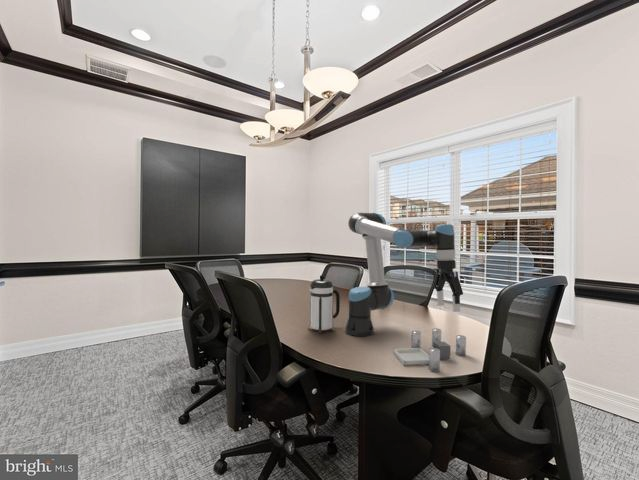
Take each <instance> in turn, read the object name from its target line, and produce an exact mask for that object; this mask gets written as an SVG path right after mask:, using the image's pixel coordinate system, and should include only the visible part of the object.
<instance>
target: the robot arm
mask: <svg viewBox="0 0 639 480" xmlns="http://www.w3.org/2000/svg"><path fill="white" fill-rule="evenodd" d="M348 228H349V230H350V231H351V232H352V233H355V234H359V235H361V236H362V239H364V241H365V248H366V249H365V250H366V259H367V269H368V279H369V283H368V284H367V285H366V286H356V287H353V288H351V289H350V290H349V293H348V318H347V321H346V323H345V330H344V331H345V333H346V334H348V335H350V336H353V337H354V336H356V337H369V336H372V335H373V334H374V332H375V330H374V329H375V328H374V325H373V321H372V318H371V317H372V315H371V314H372V312H373V311H377V310H384V309H387V308H389V307H391V305H392V304H393V302H394V299H395V295H394V291H393V290H392V288H391V287H390V286H389V283H388V282H387V281H386V277H385V268H384V258H383V249H382V240H383V241H386V242H389V243H392V244H394V245H395V247H397V248H401V249H402V248H403V249H406V248H407V249H408V248H426V247H436V259H437V260H436V267H437V269H436V276H435V281H434V285H433V288H434V290H435V291H436V301H437V306H438V307H441V306H445V302H444V287H445V285H446V283H448V285H449V288H450V289H451V292H452V295H451V296H452V312H455V313H456V312H461V298H460V297H461V296H462V295H464V291H463V288H462V285H461V282H460V278H459V272H458V271H454V269H456V268H457V267H456V266H457V264H456V263H457V262H456V260H455V259H456V249H455V247H456V246H455V228H454V225H452V224H451V223H447V224H437V225H436V226H435V228H434V229H429V230H408V229H404V228H401V227H397V226H394V225H393V226H392V225H389V224H387V221H386V219H385V217H384V216H383V215H382V214H381V213H376V212H356V213H353V214H352V215H351V216H350V217H349V219H348Z"/></svg>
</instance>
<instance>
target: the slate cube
mask: <svg viewBox="0 0 639 480" xmlns="http://www.w3.org/2000/svg"><path fill="white" fill-rule="evenodd" d="M432 348H437V349H439V350H440V361H450V360H451V345H450V344H449V343H447V342H446V341H441V342H433V347H432ZM449 359H450V360H449Z"/></svg>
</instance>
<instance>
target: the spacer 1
mask: <svg viewBox="0 0 639 480" xmlns="http://www.w3.org/2000/svg"><path fill="white" fill-rule="evenodd" d="M421 338H422V331H419V330H415V329H414V330H411V348H421V344H422V343H421V342H422V339H421ZM421 349H422V348H421Z"/></svg>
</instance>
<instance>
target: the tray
mask: <svg viewBox="0 0 639 480" xmlns="http://www.w3.org/2000/svg"><path fill="white" fill-rule="evenodd" d="M392 354H393V356H394V357H396V359H397V360H398V359H399V360H398V361H399V362H400V363H401V365H403V366H404V367H407V366H406V365H415V366H422V365H421V364H429V353H427V352H426V351H425V350H424V349H422V348H410V347H409V348H407V347H405V348H392Z"/></svg>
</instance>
